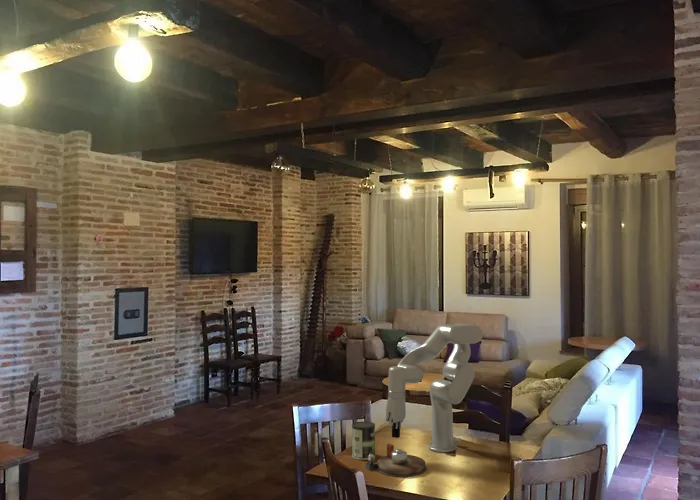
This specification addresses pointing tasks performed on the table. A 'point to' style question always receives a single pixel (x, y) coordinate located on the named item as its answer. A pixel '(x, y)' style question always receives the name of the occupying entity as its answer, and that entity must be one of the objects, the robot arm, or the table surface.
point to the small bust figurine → (371, 463)
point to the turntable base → (402, 476)
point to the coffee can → (363, 440)
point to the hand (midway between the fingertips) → (395, 437)
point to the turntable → (410, 468)
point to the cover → (399, 457)
